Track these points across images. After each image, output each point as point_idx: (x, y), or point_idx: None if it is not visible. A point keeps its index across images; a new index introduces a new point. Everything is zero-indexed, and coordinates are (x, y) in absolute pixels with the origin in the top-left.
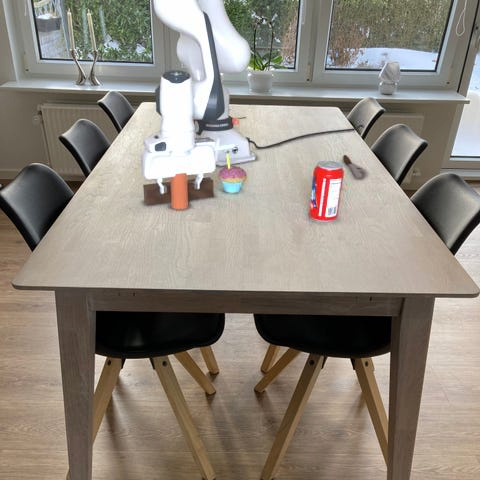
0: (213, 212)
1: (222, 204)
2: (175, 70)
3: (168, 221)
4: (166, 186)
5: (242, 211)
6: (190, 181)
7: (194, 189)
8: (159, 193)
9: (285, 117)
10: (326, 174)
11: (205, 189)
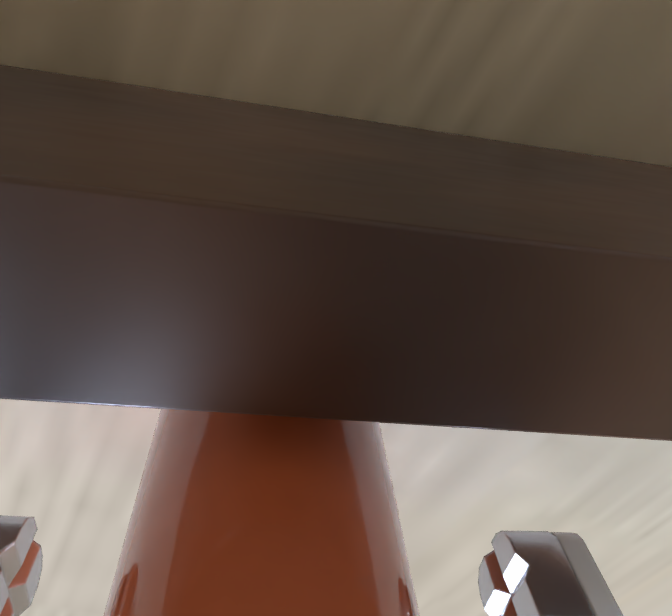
0: (466, 556)
1: (648, 472)
2: None
3: (49, 578)
4: (96, 401)
5: (645, 592)
6: (658, 375)
7: (480, 573)
8: None
9: None
10: None
11: None
